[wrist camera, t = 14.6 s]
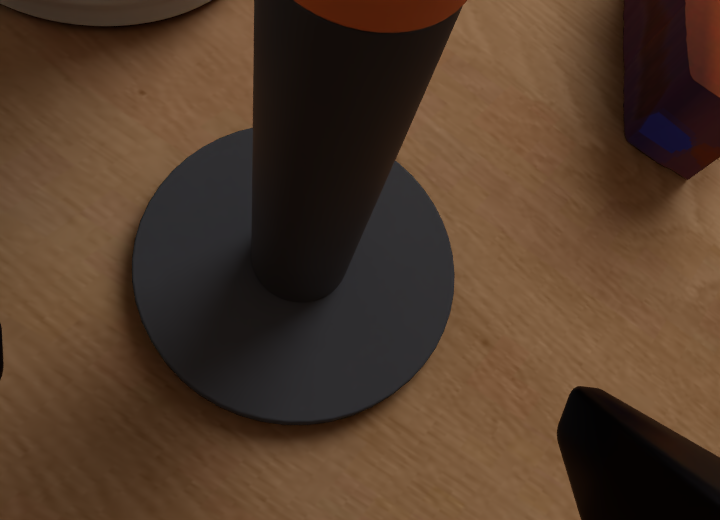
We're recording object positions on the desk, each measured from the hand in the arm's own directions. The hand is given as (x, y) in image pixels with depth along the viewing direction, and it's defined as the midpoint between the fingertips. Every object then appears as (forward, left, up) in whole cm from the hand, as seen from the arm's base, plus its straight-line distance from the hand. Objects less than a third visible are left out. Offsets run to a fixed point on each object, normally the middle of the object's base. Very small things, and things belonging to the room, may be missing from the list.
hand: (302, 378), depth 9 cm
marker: (+5, -1, -7) cm, 9 cm away
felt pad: (+5, -1, -8) cm, 9 cm away
